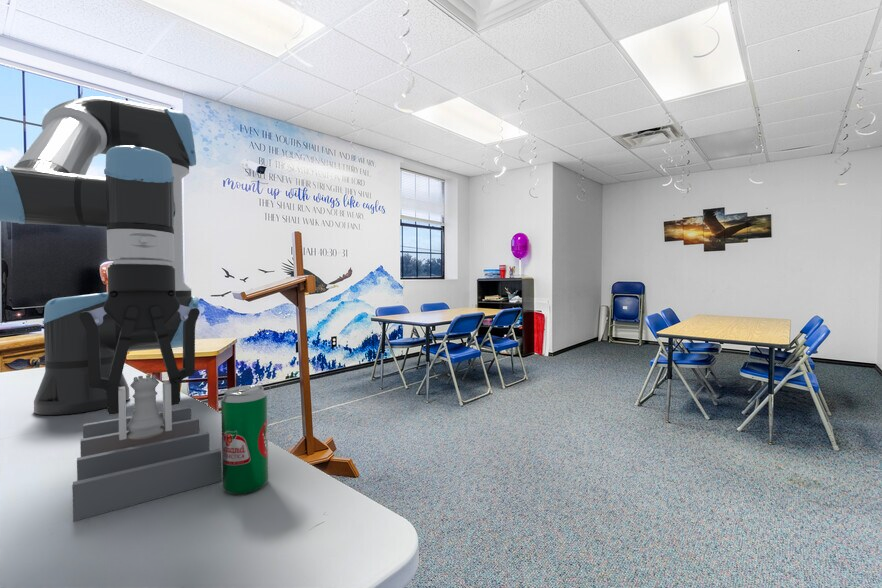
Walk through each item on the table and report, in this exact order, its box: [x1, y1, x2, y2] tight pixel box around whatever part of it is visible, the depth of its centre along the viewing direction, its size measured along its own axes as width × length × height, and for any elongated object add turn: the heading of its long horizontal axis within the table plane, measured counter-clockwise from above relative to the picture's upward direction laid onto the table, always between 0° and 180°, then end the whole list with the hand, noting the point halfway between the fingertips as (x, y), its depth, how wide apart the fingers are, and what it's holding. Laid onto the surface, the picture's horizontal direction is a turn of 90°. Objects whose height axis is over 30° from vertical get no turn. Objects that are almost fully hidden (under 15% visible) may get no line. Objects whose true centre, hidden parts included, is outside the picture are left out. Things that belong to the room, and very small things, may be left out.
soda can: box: [220, 384, 269, 496], centre depth 50 cm, size 5×5×12 cm
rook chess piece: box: [126, 374, 165, 440], centre depth 57 cm, size 4×4×8 cm
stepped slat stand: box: [71, 406, 223, 522], centre depth 57 cm, size 25×14×4 cm, turn 39°
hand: (145, 432), depth 57 cm, fingers closed on rook chess piece, 4 cm apart
